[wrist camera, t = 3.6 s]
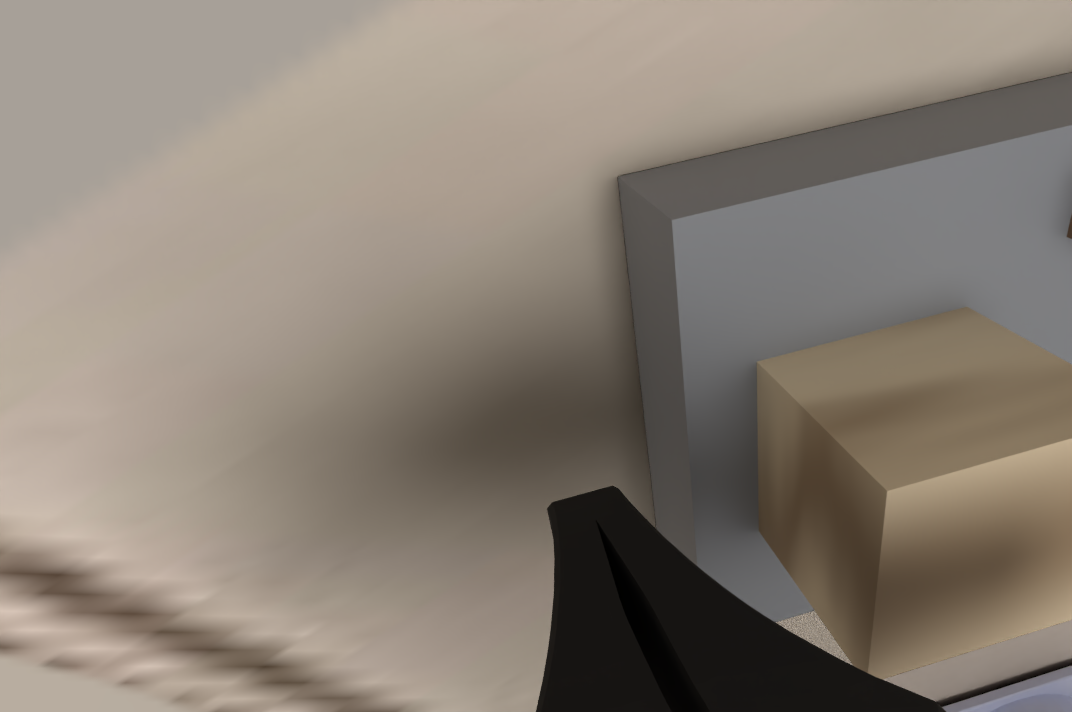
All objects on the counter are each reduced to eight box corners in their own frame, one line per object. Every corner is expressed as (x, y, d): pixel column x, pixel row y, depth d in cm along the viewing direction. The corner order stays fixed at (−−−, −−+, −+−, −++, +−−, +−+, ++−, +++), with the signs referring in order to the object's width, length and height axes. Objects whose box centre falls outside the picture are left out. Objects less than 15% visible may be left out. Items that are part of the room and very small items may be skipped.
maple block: (940, 479, 16) (1093, 613, 13) (758, 531, 16) (866, 684, 13) (967, 306, 14) (1159, 412, 11) (756, 361, 14) (887, 491, 10)
